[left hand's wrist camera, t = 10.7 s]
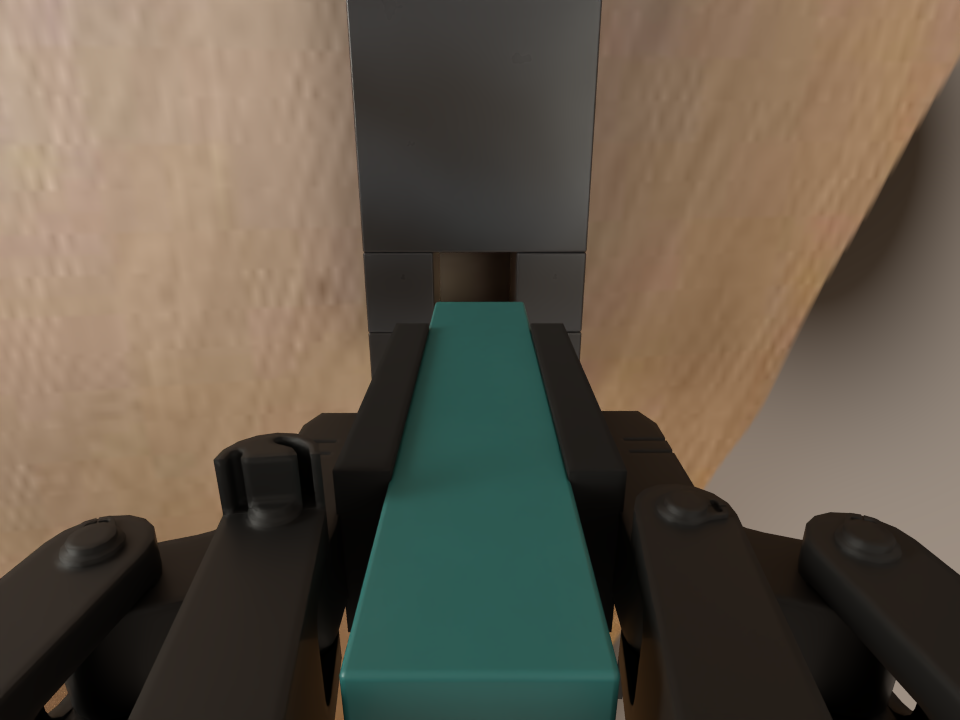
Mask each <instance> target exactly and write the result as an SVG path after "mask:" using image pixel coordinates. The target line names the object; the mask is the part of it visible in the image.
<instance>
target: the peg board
mask: <svg viewBox="0 0 960 720" xmlns="http://www.w3.org/2000/svg"><path fill="white" fill-rule="evenodd" d="M346 7H347V21H348V36H349V51H350V66H351V80H352V95H353V110H354V125H355V139H356V154H357V169H358V184H359V198H360V213H361V228H362V243H363V251H364V254H363V259H364V273H365V288H366V303H367V318H368V331H369V347H370V361H371V376H372V378H373V376H374V374H375V371H376V369H377V367H378V365H379V362H380V360H381V358H382V355H383V353H384V351H385V348H386V346H387V344H388V341H389V339H390V337H391V335H392V332H393V330H394V328H395V325H396V323H429V327H430V323H431V319H432V315H433V311H434V307H435V304H436V303H437V302H441V298H440V255H439V252H511V255H510V302H523V303H524V305H525V309H526V312H527V316H528V320H529V324H530V328H531V323H563V324H564V326H565V329H566V331H567V333H568V336H569V338H570V340H571V342H572V345H573V347H574V349H575V352H576V354H577V356H578V359H579V361H580V348H581V332H580V331H581V329H582V314H583V298H584V282H585V266H586V253H585V252H586V250H587V234H588V218H589V202H590V186H591V170H592V154H593V137H594V121H595V105H596V89H597V73H598V57H599V41H600V24H601V8H602V0H346Z"/></svg>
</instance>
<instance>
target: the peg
mask: <svg viewBox="0 0 960 720" xmlns="http://www.w3.org/2000/svg"><path fill="white" fill-rule="evenodd" d="M339 677H340V686H341V696H342V705H343V714H344V720H615V719H616V710H617V700H618V691H619V682H620V672H619V668H618V665H617V661H616V657H615V653H614V649H613V645H612V641H611V638H610V634H609V630H608V626H607V622H606V618H605V614H604V610H603V607H602V603H601V599H600V595H599V591H598V587H597V583H596V579H595V576H594V572H593V568H592V564H591V560H590V556H589V552H588V549H587V545H586V541H585V537H584V533H583V529H582V525H581V521H580V518H579V514H578V510H577V506H576V502H575V498H574V494H573V490H572V487H571V484H570V481H569V479H568V475H567V471H566V467H565V463H564V459H563V456H562V452H561V448H560V444H559V440H558V436H557V432H556V428H555V424H554V420H553V416H552V412H551V408H550V404H549V401H548V397H547V393H546V389H545V385H544V381H543V377H542V373H541V369H540V365H539V361H538V357H537V353H536V349H535V346H534V342H533V338H532V334H531V330H530V324H529V320H528V316H527V312H526V309H525V305H524V303H523V302H437V303H436V304H435V307H434V311H433V315H432V319H431V323H430V327H429V332H428V336H427V340H426V344H425V348H424V352H423V356H422V360H421V364H420V368H419V371H418V375H417V379H416V383H415V387H414V391H413V395H412V399H411V403H410V407H409V411H408V415H407V419H406V422H405V426H404V430H403V434H402V438H401V442H400V446H399V450H398V454H397V458H396V462H395V466H394V470H393V473H392V477H391V481H390V483H389V485H388V489H387V493H386V497H385V501H384V504H383V508H382V512H381V516H380V520H379V524H378V528H377V531H376V535H375V539H374V543H373V547H372V551H371V555H370V559H369V562H368V566H367V570H366V574H365V578H364V582H363V586H362V589H361V593H360V597H359V601H358V605H357V609H356V613H355V616H354V620H353V624H352V628H351V632H350V636H349V640H348V644H347V647H346V651H345V655H344V659H343V663H342V667H341V671H340V674H339Z"/></svg>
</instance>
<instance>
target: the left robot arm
mask: <svg viewBox="0 0 960 720" xmlns="http://www.w3.org/2000/svg"><path fill="white" fill-rule="evenodd" d="M530 330H531V334H532V338H533V342H534V346H535V349H536V353H537V357H538V361H539V365H540V369H541V373H542V377H543V381H544V385H545V389H546V393H547V397H548V401H549V404H550V408H551V412H552V416H553V420H554V424H555V428H556V432H557V436H558V440H559V444H560V448H561V452H562V456H563V459H564V463H565V467H566V471H567V475H568V479H569V481H570V484H571V487H572V490H573V494H574V498H575V502H576V506H577V510H578V514H579V518H580V521H581V525H582V529H583V533H584V537H585V541H586V545H587V549H588V552H589V556H590V560H591V564H592V568H593V572H594V576H595V579H596V583H597V587H598V591H599V595H600V599H601V603H602V607H603V610H604V614H605V618H606V622H607V626H608V630H609V632H611V631H612V621H613V610H614V604H615V608H616V611H617V615H618V618H619V622H620V625H621V638H620V647H619V656H618V668H619V672H620V682H619V691H618V699H622V697H623V702H624V711H625V720H960V575H959V574H958V573H956V572H955V571H954V570H953V569H951V568H950V567H949V566H948V565H946V564H945V563H944V562H943V561H941V560H940V559H939V558H938V557H936V556H935V555H934V554H933V553H931V552H930V551H929V550H928V549H926V548H925V547H924V546H922V545H921V544H920V543H919V542H917V541H916V540H915V539H913V538H912V537H910V536H908V535H907V534H905V533H904V532H902V531H901V530H899V529H897V528H896V527H893V526H891V525H888V524H886V523H883V522H881V521H879V520H877V519H875V518H872V517H868V516H865V515H864V516H861V515H860V514H854V513H834V512H830V513H825V514H821V515H817V516H814V517H813V518H812V519H811V520H810V521H809V522H808V523H807V524H806V528H805V532H804V536H803V540H800V539H794V538H789V537H784V536H779V535H774V534H768V533H763V532H760V531H756V530H752V529H748V528H745V527H743V526H742V524H741V522H740V520H739V518H738V516H737V514H736V513H735V511H734V510H733V509H732V508H731V506H730V505H729V504H728V503H727V502H726V501H724V500H722V499H721V498H719V497H718V496H716V495H715V494H713V493H710V492H708V491H705V490H702V489H700V488H697V487H694V485H693V484H692V482H691V480H690V479H689V477H688V475H687V474H686V472H685V470H684V469H683V467H682V465H681V464H680V462H679V460H678V459H677V457H676V455H675V454H674V453H672V449H671V447H670V445H669V444H668V442H667V441H665V437H664V436H663V434H662V432H661V431H660V429H659V427H658V426H657V424H656V423H655V422H653V421H652V420H650V419H649V418H647V417H646V416H644V415H643V414H641V413H640V412H638V411H601V409H600V407H599V405H598V402H597V400H596V398H595V395H594V393H593V391H592V389H591V386H590V384H589V382H588V379H587V377H586V375H585V372H584V370H583V368H582V365H581V363H580V361H579V359H578V356H577V354H576V352H575V349H574V347H573V345H572V342H571V340H570V338H569V336H568V333H567V331H566V329H565V326H564V324H563V323H531V328H530ZM428 332H429V323H396V325H395V328H394V330H393V332H392V335H391V337H390V339H389V341H388V344H387V346H386V348H385V351H384V353H383V355H382V358H381V360H380V362H379V365H378V367H377V369H376V371H375V374H374V376H373V378H372V381H371V383H370V385H369V388H368V390H367V392H366V394H365V397H364V399H363V401H362V404H361V406H360V408H359V411H358V413H321V414H320V415H318V416H317V417H315V418H314V419H313V420H311V421H310V422H308V423H307V424H305V425H304V426H303V427H302V429H301V431H300V432H299V434H294V433H273V434H266V435H258V436H255V437H251V438H248V439H245V440H242V441H239V442H237V443H235V444H233V445H231V446H229V447H228V448H226V449H224V450H223V451H222V452H221V453H220V454H219V455H218V456H217V457H216V458H215V459H214V465H215V471H216V477H217V482H218V488H219V494H220V499H221V505H222V510H223V517H222V519H221V521H220V523H219V525H218V527H217V529H216V530H214V531H211V532H207V533H203V534H199V535H195V536H190V537H184V538H179V539H174V540H169V541H164V542H159V543H157V538H156V534H155V530H154V526H153V525H152V524H150V523H149V522H148V521H147V520H146V519H144V518H140V517H135V516H131V515H123V516H106V517H99V519H96V518H95V519H92V520H88V521H85V522H83V523H81V524H79V525H77V526H74V527H72V528H70V529H67V530H65V531H63V532H61V533H60V534H58V535H57V536H55V537H53V538H52V539H50V540H49V541H47V542H46V543H44V544H43V545H42V546H40V547H39V548H38V549H37V550H35V551H34V552H33V553H32V554H30V555H29V556H28V557H27V558H25V559H24V560H23V561H22V562H21V563H19V564H18V565H17V566H16V567H14V568H13V569H12V570H11V571H9V572H8V573H7V574H6V575H4V576H3V577H2V578H1V579H0V720H335V712H336V703H337V695H338V686H339V674H340V668H341V660H342V656H341V647H340V637H339V627H340V624H341V620H342V617H343V613H344V609H345V606H346V614H347V625H348V632H351V628H352V624H353V620H354V616H355V613H356V609H357V605H358V601H359V597H360V593H361V589H362V586H363V582H364V578H365V574H366V570H367V566H368V562H369V559H370V555H371V551H372V547H373V543H374V539H375V535H376V531H377V528H378V524H379V520H380V516H381V512H382V508H383V504H384V501H385V497H386V493H387V489H388V485H389V483H390V481H391V477H392V473H393V470H394V466H395V462H396V458H397V454H398V450H399V446H400V442H401V438H402V434H403V430H404V426H405V422H406V419H407V415H408V411H409V407H410V403H411V399H412V395H413V391H414V387H415V383H416V379H417V375H418V371H419V368H420V364H421V360H422V356H423V352H424V348H425V344H426V340H427V336H428ZM896 680H897V681H898V682H899V683H900V685H901V686H902V687H903V688H904V689H905V690H906V691H907V692H908V693H909V695H910V696H911V697H912V698H913V699H914V700H915V701H916V702H917V704H916V707H915V709H914V711H912V710H910V709H909V708H908V707H907V706H906V705H904V704H903V703H902V702H901V701H900V699H899V698H898V697H897V696H896V695H895V694H894V693H893V691H892V690H893V687H894V684H895V681H896ZM64 683H65V685H66V688H67V691H68V694H67V695H66V697H65V698H64V699H63V700H62V701H61V702H60V704H59V705H58V706H56V707H55V708H54V709H53V710H52V711H50V712H49V713H47V712H46V711H45V709H44V705H45V704H46V703H47V702H48V701H49V700H50V699H51V697H52V696H53V695H54V694H55V693H56V692H57V691H58V690H59V688H60V687H61V686H62V685H63V684H64Z"/></svg>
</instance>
